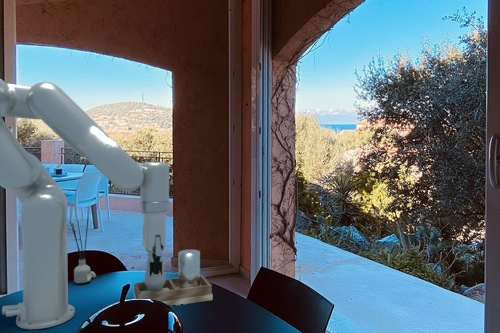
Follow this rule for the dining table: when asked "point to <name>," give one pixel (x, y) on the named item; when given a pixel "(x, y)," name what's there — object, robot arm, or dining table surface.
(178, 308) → the dining table surface
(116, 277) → the dining table surface
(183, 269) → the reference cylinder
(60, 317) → the robot arm
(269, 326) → the dining table surface
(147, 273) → the salt shaker
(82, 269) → the reed diffuser
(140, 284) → the divided tray
